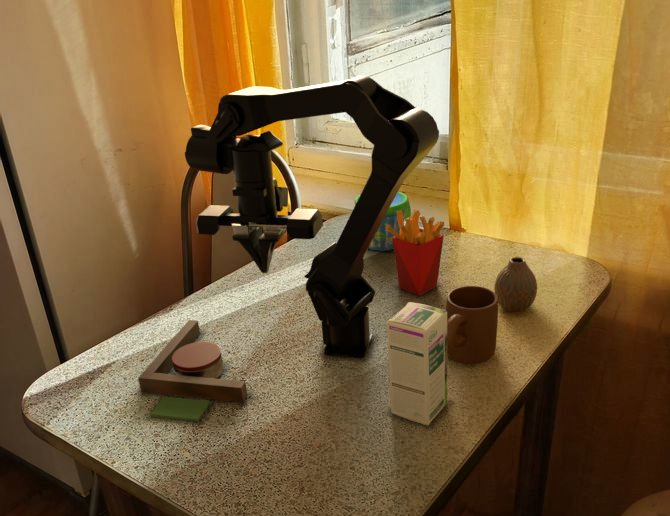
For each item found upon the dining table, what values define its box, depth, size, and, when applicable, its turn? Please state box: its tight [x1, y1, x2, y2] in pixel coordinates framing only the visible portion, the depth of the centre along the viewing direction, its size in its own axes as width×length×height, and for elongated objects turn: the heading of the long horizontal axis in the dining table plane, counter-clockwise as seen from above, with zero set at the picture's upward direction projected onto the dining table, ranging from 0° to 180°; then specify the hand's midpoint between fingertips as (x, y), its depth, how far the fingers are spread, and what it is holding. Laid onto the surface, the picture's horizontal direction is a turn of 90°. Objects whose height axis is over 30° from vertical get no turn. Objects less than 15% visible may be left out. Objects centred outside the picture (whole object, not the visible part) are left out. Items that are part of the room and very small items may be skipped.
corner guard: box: [137, 319, 248, 403], centre depth 101 cm, size 16×17×2 cm
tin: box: [172, 341, 224, 379], centre depth 99 cm, size 7×7×3 cm
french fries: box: [385, 209, 445, 296], centre depth 116 cm, size 9×8×15 cm
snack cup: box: [354, 191, 412, 252], centre depth 136 cm, size 16×10×10 cm
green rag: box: [150, 396, 211, 422], centre depth 92 cm, size 7×4×1 cm, turn 78°
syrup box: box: [386, 301, 448, 427], centre depth 86 cm, size 6×6×14 cm
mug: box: [445, 285, 499, 365], centre depth 98 cm, size 12×8×9 cm, turn 148°
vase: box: [493, 256, 538, 314], centre depth 111 cm, size 7×7×9 cm
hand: (265, 271), depth 106 cm, fingers closed
